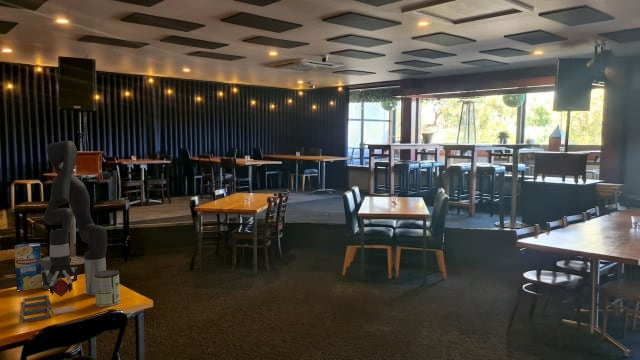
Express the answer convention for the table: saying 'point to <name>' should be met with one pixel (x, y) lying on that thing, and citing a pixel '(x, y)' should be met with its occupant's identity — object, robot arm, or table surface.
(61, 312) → the tile
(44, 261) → the coffeepot
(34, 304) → the tray
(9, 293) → the table surface
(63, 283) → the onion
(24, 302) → the tray
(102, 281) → the coffee can
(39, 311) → the tray
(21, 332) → the table surface
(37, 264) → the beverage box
